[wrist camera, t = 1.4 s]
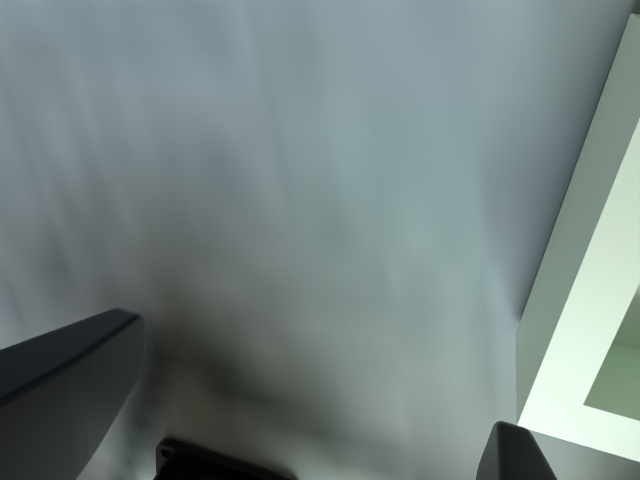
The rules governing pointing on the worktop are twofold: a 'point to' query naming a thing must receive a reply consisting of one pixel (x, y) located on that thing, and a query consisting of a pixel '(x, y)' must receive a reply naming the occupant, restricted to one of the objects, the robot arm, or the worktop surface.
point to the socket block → (591, 285)
